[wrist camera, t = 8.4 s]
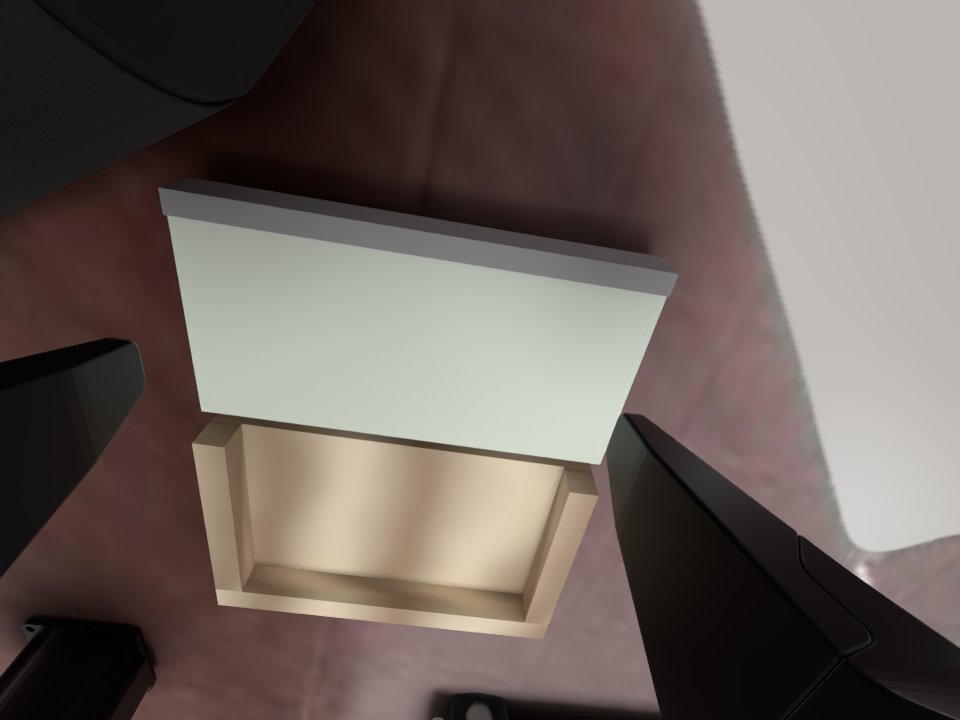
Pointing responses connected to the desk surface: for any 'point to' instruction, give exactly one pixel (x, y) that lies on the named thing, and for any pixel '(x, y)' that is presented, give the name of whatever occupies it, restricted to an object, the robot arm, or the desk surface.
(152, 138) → the portable speaker
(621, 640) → the desk surface
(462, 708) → the toy car
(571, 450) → the panel
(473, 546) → the tray
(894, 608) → the robot arm
